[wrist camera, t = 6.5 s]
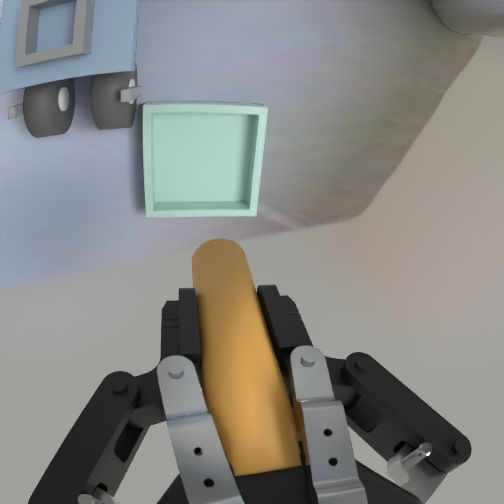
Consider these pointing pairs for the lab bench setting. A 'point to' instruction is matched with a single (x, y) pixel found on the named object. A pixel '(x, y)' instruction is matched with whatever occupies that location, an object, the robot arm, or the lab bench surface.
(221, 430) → the pin
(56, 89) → the trolley
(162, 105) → the tray
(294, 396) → the robot arm
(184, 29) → the lab bench surface
